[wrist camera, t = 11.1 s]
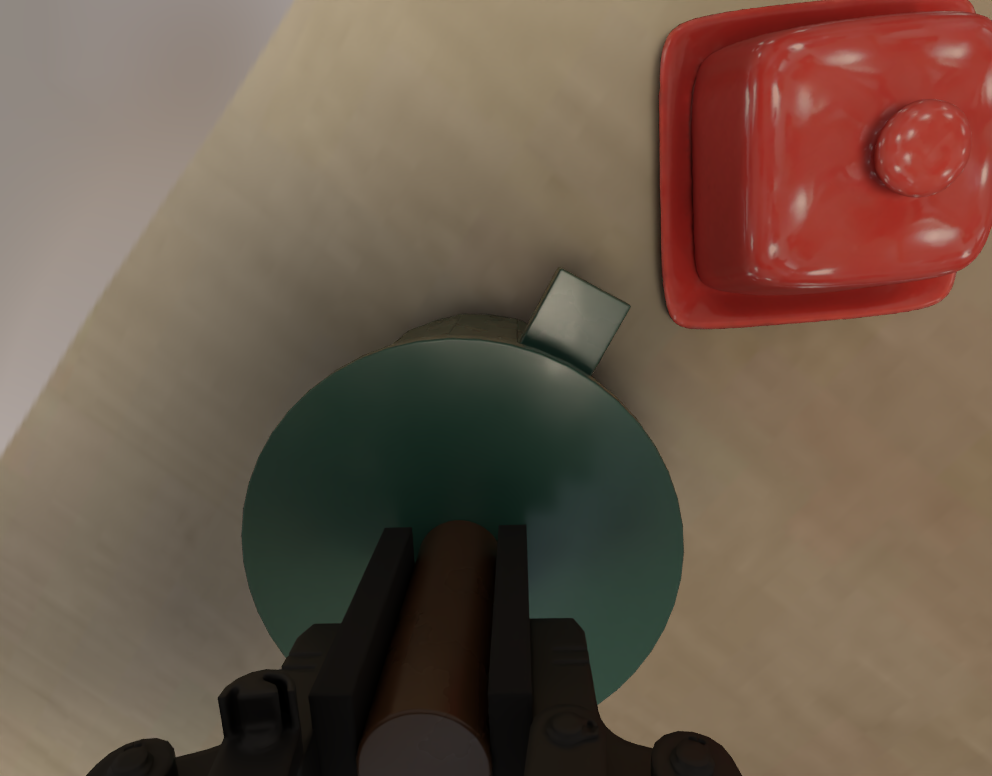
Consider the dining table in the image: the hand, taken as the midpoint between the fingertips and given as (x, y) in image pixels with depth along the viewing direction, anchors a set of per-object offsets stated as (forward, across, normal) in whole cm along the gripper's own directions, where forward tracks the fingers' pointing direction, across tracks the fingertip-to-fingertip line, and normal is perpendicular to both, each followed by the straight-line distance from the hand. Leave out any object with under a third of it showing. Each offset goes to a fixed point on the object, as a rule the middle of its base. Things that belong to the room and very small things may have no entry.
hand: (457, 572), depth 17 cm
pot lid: (+2, 0, 0) cm, 2 cm away
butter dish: (+11, +13, +11) cm, 20 cm away
